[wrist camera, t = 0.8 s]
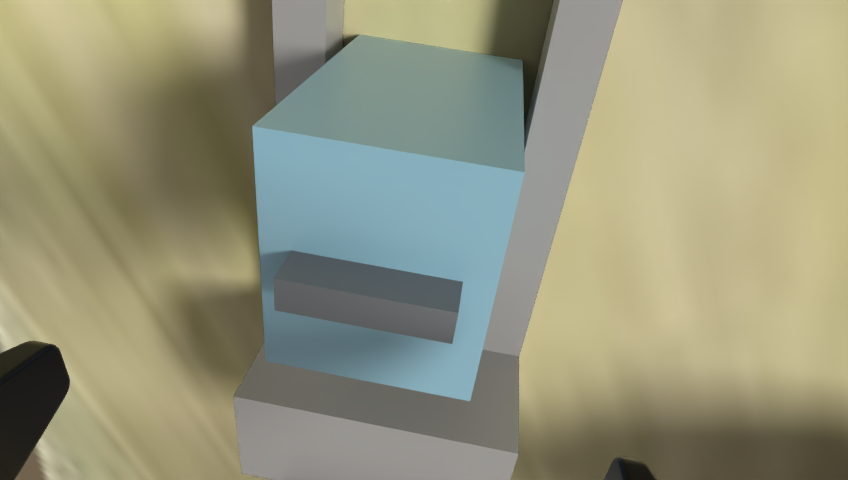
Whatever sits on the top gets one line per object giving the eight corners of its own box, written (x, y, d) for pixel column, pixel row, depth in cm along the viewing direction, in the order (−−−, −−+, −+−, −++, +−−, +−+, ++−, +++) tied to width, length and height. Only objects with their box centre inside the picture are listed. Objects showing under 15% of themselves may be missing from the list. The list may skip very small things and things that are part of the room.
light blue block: (522, 60, 16) (524, 198, 9) (487, 229, 20) (466, 436, 12) (359, 34, 17) (228, 147, 9) (351, 205, 20) (248, 392, 12)
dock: (621, -42, 15) (692, 1, 9) (496, 404, 24) (489, 573, 18) (294, -89, 15) (144, -79, 9) (299, 365, 25) (227, 516, 19)
